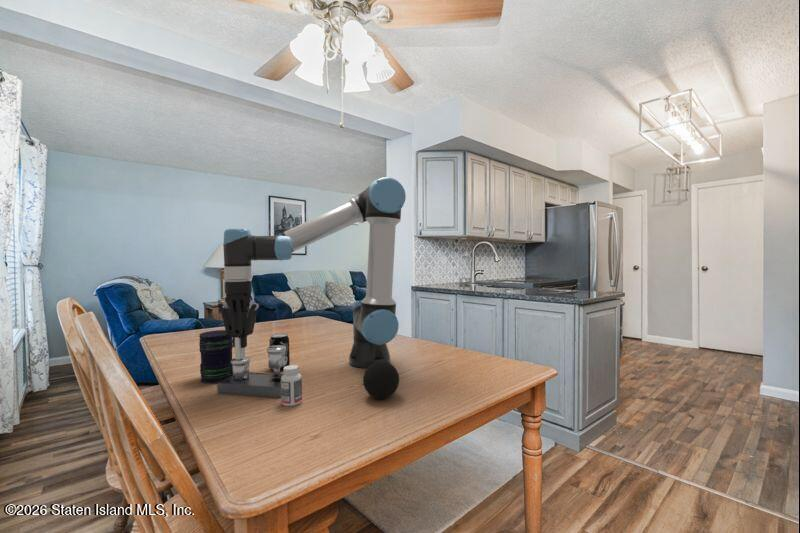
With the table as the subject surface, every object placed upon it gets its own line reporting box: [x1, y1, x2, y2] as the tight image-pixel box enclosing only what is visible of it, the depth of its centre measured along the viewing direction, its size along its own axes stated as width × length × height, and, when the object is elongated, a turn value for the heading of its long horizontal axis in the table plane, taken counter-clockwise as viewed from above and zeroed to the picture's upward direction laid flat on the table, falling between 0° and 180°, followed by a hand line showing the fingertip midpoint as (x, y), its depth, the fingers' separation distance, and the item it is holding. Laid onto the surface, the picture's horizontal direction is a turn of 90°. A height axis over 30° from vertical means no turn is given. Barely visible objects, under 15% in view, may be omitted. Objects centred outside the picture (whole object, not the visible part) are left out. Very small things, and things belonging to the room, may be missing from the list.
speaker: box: [362, 361, 400, 400], centre depth 105 cm, size 10×10×10 cm
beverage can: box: [269, 332, 291, 372], centre depth 132 cm, size 7×7×12 cm
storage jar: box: [198, 329, 234, 384], centre depth 123 cm, size 10×10×15 cm
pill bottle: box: [281, 364, 303, 407], centre depth 102 cm, size 5×5×10 cm
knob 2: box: [266, 345, 286, 377], centre depth 112 cm, size 5×5×9 cm
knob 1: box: [231, 356, 251, 380], centre depth 114 cm, size 5×5×9 cm
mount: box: [216, 371, 284, 399], centre depth 113 cm, size 20×11×3 cm, turn 78°
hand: (240, 358), depth 114 cm, fingers closed
